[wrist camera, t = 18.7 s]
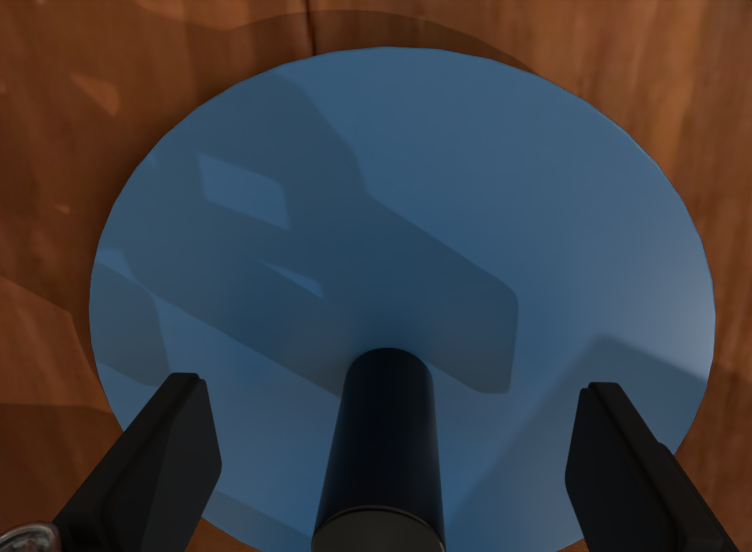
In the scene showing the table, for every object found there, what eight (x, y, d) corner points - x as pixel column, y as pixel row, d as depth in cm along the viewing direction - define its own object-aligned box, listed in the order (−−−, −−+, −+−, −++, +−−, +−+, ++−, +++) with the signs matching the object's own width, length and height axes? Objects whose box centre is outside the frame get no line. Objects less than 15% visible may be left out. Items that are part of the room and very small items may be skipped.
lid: (172, 543, 18) (62, 761, 12) (36, 57, 11) (-343, 42, 5) (627, 564, 17) (739, 815, 11) (777, 38, 10) (1249, -7, 4)
